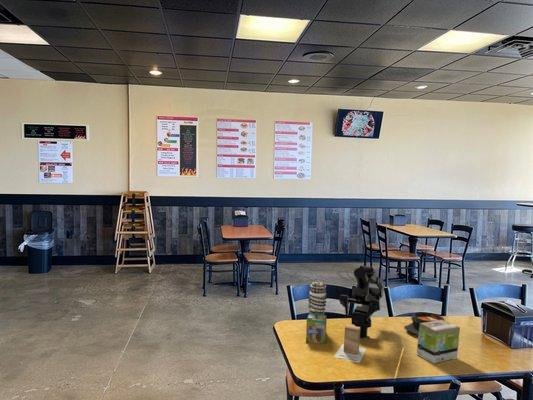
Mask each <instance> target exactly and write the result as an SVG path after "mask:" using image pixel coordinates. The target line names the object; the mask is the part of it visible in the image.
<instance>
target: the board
mask: <svg viewBox="0 0 533 400" xmlns="http://www.w3.org/2000/svg"><path fill="white" fill-rule="evenodd" d="M343 351H344V343H341V345H340V347H339V348H338V349H337V351H336V352H335V354H334V356H333V358H336V359H339V360H343V361H349V362H353V363H358V364H360V363H361V361H362V359H363V357H364V355H365V353H366V351H367V348H364V347H360V346H359V352H358V354H357V355H356V354H351V353H347V352H343Z"/></svg>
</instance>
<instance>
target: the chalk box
mask: <svg viewBox="0 0 533 400" xmlns="http://www.w3.org/2000/svg"><path fill="white" fill-rule="evenodd" d="M327 318H328V316H327V315H325V314H324V315H319V314H317V311H316V309H315V314H309V313H308V315H307V318H306V330H305V331H306V332H305V333H306V334H305V335H306V337H305V344H308V343H318V344H324V345H326V339H327V321H328V319H327Z"/></svg>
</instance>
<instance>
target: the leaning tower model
mask: <svg viewBox="0 0 533 400" xmlns="http://www.w3.org/2000/svg"><path fill="white" fill-rule="evenodd" d="M309 286H310V289H309V295H308V297H307V298H308V300H307V301H308V303H307V304H308V306H307V307H308V310H309V312H308V314H315V309H316V311H317V314H319V315H325V311H326V308H325V307H326V306H327V304H326V303H327V301H326V300H327V299H328V298H327V297H328V294H327V292H326V291H327V289H326V288H327V286H326V284H325V283H324V282H323V281H313V282H312V283H311V284H310V285H309Z"/></svg>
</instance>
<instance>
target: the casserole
mask: <svg viewBox="0 0 533 400" xmlns="http://www.w3.org/2000/svg"><path fill="white" fill-rule="evenodd" d="M410 319H411V321H412V322H411V323H410V324H407V325H405V326H404V330H406V331H407V332H409V333H412V334H414V335H416V336H418V335H419V325H420V323H425V322H432V321H438V320H444V321H446V320H445V318H444V317H443V316H441V315H440V314H439V315H438V314H436V313H432V312H427V311H426V312H425V311H418V312H414V313H413V314H412V315H411V318H410Z"/></svg>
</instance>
